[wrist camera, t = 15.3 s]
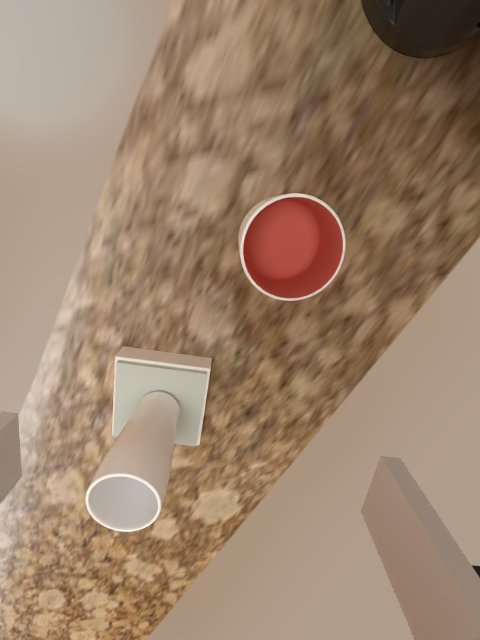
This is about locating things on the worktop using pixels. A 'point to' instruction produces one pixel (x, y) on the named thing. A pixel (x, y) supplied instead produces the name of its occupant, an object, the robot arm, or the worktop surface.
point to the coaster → (162, 387)
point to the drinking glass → (136, 467)
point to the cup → (291, 246)
